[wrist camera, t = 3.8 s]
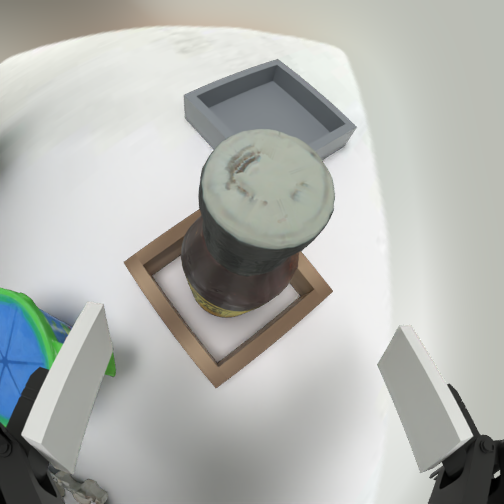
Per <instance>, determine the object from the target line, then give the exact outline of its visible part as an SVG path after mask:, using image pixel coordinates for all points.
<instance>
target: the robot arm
mask: <svg viewBox="0 0 504 504" xmlns="http://www.w3.org/2000/svg"><path fill="white" fill-rule="evenodd" d="M113 350H114V349H113V345H112V341H111V337H110V333H109V328H108V324H107V319H106V314H105V309H104V304H99V303H93V302H87V304H86V305H85V307H84V309H83V310H82V312H81V314H80V315H79V317H78V319H77V320H76V322H75V324H74V326H73V327H72V329H71V331H70V333H69V335H68V336H67V338H66V340H65V342H64V344H63V346H62V347H61V349H60V351H59V353H58V355H57V357H56V359H55V361H54V363H53V365H52V367H51V369H50V370H49V369H45V368H42V367H39V368H38V369H37V370H36V371H34V372H33V373H32V374H31V375H30V377H29V379H28V381H27V383H26V385H25V388H24V389H23V391H22V393H21V397H19V399H18V402H17V404H16V406H15V408H14V410H13V412H12V415H11V417H10V419H9V422H8V424H7V426H6V427H5V426H4V425H3V424H2V423H1V422H0V504H65V502H64V500H63V498H62V496H61V495H60V493H59V491H58V489H57V487H56V484H55V482H54V480H53V478H52V476H51V474H50V472H49V470H48V465H49V463H50V464H51V465H52V466H54V467H55V468H56V469H59V470H61V471H64V472H67V473H69V474H72V475H73V474H74V470H75V466H76V462H77V459H78V455H79V451H80V448H81V444H82V441H83V437H84V434H85V430H86V427H87V424H88V421H89V417H90V414H91V411H92V408H93V405H94V402H95V399H96V396H97V393H98V390H99V388H100V385H101V382H102V379H103V376H104V374H105V371H106V368H107V365H108V363H109V360H110V358H111V355H112V352H113ZM377 365H378V368H379V370H380V372H381V374H382V377H383V379H384V381H385V384H386V386H387V388H388V391H389V393H390V395H391V398H392V400H393V403H394V405H395V407H396V410H397V412H398V415H399V417H400V420H401V422H402V425H403V427H404V430H405V432H406V435H407V438H408V440H409V443H410V445H411V448H412V451H413V453H414V456H415V459H416V462H417V465H418V467H419V470H420V473H422V472H425V471H427V470H430V469H432V468H434V467H435V466H437V465H438V464H440V463H441V462H442V463H443V466H442V467H440V468H439V469H437V470H436V471H435V472H433V473H432V474H431V475H430V477H429V478H433V477H434V476H435V475H437V474H438V476H436V477H435V478H434V480H436V482H435V485H434V488H433V491H432V494H431V497H430V499H429V502H428V504H504V440H496V441H493V440H492V439H491V438H490V437H489V436H487V435H480V434H479V432H478V430H477V428H476V426H475V424H474V422H473V420H472V418H471V416H470V414H469V412H468V410H467V409H466V408H465V405H464V403H463V402H462V399H461V397H460V396H459V394H458V392H457V391H456V390H455V389H454V388H453V387H452V386H451V385H450V384H446V382H445V380H444V379H443V377H442V375H441V373H440V372H439V370H438V368H437V366H436V365H435V363H434V361H433V360H432V358H431V356H430V355H429V353H428V351H427V350H426V348H425V347H424V345H423V343H422V342H421V340H420V338H419V337H418V335H417V334H416V332H415V330H414V329H413V327H412V326H411V325H401V326H399V327H398V329H397V331H396V332H395V334H394V336H393V338H392V340H391V342H390V343H389V345H388V347H387V349H386V351H385V352H384V354H383V356H382V357H381V359H380V361H379V363H378V364H377ZM499 470H500V476H498V477H497V478H494V474H495V473H496V472H497V471H499Z"/></svg>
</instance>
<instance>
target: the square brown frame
mask: <svg viewBox="0 0 504 504" xmlns="http://www.w3.org/2000/svg"><path fill="white" fill-rule="evenodd" d="M200 216H201V212H200V209H199V210H197V211H196V212H194V213H193V214H191V215H190V216H188V217H187V218H185V219H184V220H183V221H181V222H180V223H178V224H177V225H175V226H174V227H172V228H171V229H169V230H168V231H166V232H165V233H164V234H162V235H161V236H159V237H158V238H156V239H155V240H154V241H152V242H151V243H149V244H148V245H147V246H145V247H144V248H142V249H141V250H140V251H138V252H137V253H135V254H134V255H133V256H131V257H130V258H129V259H127V260H126V261H125V262H124V264H125V265H126V267H127V269H128V270H129V272H130V273H131V275H132V276H133V278H134V279H135V281H136V282H137V284H138V286H139V287H140V289H141V290H142V292H143V293H144V294H145V296H146V297H147V299H148V300H149V302H150V303H151V305H152V306H153V308H154V309H155V310H156V312H157V313H158V315H159V316H160V317H161V319H162V320H163V322H164V323H165V324H166V326H167V327H168V328H169V330H170V331H171V333H172V334H173V335H174V337H175V338H176V339H177V341H178V342H179V343H180V344H181V346H182V347H183V348H184V350H185V351H186V352H187V354H188V355H189V356H190V357H191V359H192V360H193V361H194V362H195V364H196V365H197V366H198V367H199V369H200V370H201V371H202V372H203V373H204V375H205V376H206V377H207V378H208V380H209V381H210V382H211V383H212V384H213V385H214V387H215V388H217V387H219V386H220V385H221V384H223V383H224V382H225V381H227V380H228V379H229V378H231V377H232V376H233V375H234V374H236V373H237V372H238V371H240V370H241V369H242V368H244V367H245V366H246V365H247V364H249V363H250V362H251V361H252V360H254V359H255V358H256V357H257V356H259V355H260V354H261V353H262V352H264V351H265V350H266V349H267V348H269V347H270V346H271V345H272V344H273V343H275V342H276V341H277V340H278V339H279V338H281V337H282V336H283V335H284V334H285V333H287V332H288V331H289V330H290V329H291V328H292V327H294V326H295V325H296V324H297V323H298V322H299V321H301V320H302V319H303V318H304V317H305V316H306V315H307V314H309V313H310V312H311V311H312V310H313V309H314V308H315V307H316V306H318V305H319V304H320V303H321V302H322V301H323V300H324V299H325V298H326V297H327V296H329V295H330V294H331V293H332V292H333V290H332V289H331V288H330V287H329V285H328V284H327V283H326V282H325V280H324V279H323V278H322V277H321V275H320V274H319V273H318V272H317V270H316V269H315V268H314V267H313V265H312V264H311V263H310V262H309V260H308V259H307V258H306V257H305V256H304V254H303V253H302V252H301V251H300V252H299V261H298V268H297V269H296V271H295V274H294V275H293V277H292V279H291V281H290V284H291V285H292V286H293V287H294V289H295V290H296V291H297V292H298V293H299V295H300V297H299V298H298V299H297V300H295V301H294V302H293V303H292V304H291V305H289V306H288V307H287V308H286V309H285V310H283V311H282V312H281V313H280V314H279V315H277V316H276V317H275V318H274V319H273V320H271V321H270V322H269V323H268V324H266V325H265V326H264V327H263V328H262V329H260V330H259V331H258V332H257V333H255V334H254V335H253V336H252V337H250V338H249V339H248V340H247V341H245V342H244V343H243V344H241V345H240V346H239V347H238V348H236V349H235V350H234V351H232V352H231V353H230V354H229V355H227V356H226V357H225V358H223V359H222V360H221V361H219V362H218V363H217V362H216V361H215V360H214V358H213V357H212V356H211V355H210V353H209V352H208V351H207V350H206V348H205V347H204V346H203V345H202V343H201V342H200V341H199V339H198V338H197V337H196V336H195V334H194V333H193V332H192V330H191V329H190V328H189V326H188V325H187V324H186V323H185V321H184V320H183V319H182V317H181V316H180V314H179V313H178V312H177V310H176V309H175V308H174V306H173V305H172V304H171V302H170V301H169V299H168V298H167V297H166V295H165V294H164V292H163V291H162V290H161V288H160V287H159V285H158V284H157V282H156V281H155V279H154V278H153V277H152V275H154V274H155V273H156V272H158V271H159V270H161V269H162V268H163V267H165V266H166V265H167V264H169V263H170V262H172V261H173V260H174V259H176V258H177V257H179V256H180V255H181V248H182V242H183V239H184V236H185V234H186V232H187V230H188V229H189V227H190V226H191V225H192V224H193V223H194V222H195V221H196V220H197V219H198V218H199V217H200Z"/></svg>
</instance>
